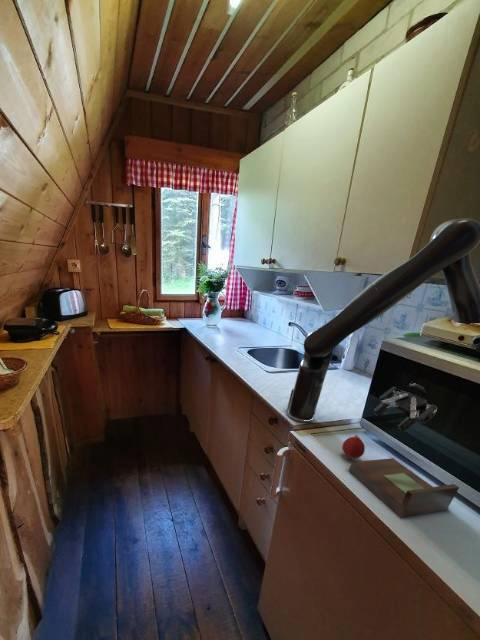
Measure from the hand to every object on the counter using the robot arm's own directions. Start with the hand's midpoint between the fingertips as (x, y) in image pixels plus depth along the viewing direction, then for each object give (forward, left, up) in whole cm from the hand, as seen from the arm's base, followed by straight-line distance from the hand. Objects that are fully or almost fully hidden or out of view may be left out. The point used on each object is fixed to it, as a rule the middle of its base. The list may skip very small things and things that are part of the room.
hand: (387, 420), depth 90 cm
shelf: (+13, -6, -13) cm, 20 cm away
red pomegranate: (0, -9, -13) cm, 15 cm away
